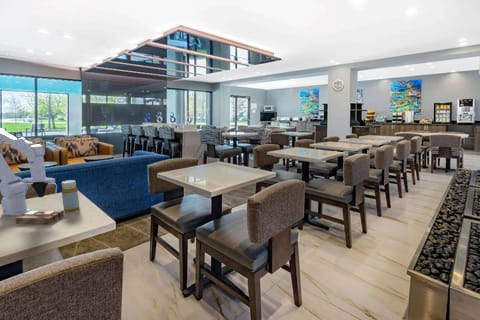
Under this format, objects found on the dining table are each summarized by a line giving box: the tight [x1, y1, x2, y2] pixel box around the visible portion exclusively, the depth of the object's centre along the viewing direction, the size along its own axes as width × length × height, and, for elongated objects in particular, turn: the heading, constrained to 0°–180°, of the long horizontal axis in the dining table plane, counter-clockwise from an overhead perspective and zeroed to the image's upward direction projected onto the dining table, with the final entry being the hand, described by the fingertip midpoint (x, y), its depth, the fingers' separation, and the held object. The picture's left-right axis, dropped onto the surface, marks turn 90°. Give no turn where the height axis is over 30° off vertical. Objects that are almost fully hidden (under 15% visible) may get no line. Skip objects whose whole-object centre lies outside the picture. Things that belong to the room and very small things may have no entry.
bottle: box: [61, 179, 80, 212], centre depth 145 cm, size 7×7×15 cm
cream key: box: [24, 211, 39, 216], centre depth 133 cm, size 4×4×3 cm
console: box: [14, 209, 65, 226], centre depth 133 cm, size 16×10×3 cm, turn 87°
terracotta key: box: [41, 211, 55, 216], centre depth 133 cm, size 4×4×3 cm
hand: (41, 196), depth 138 cm, fingers closed
